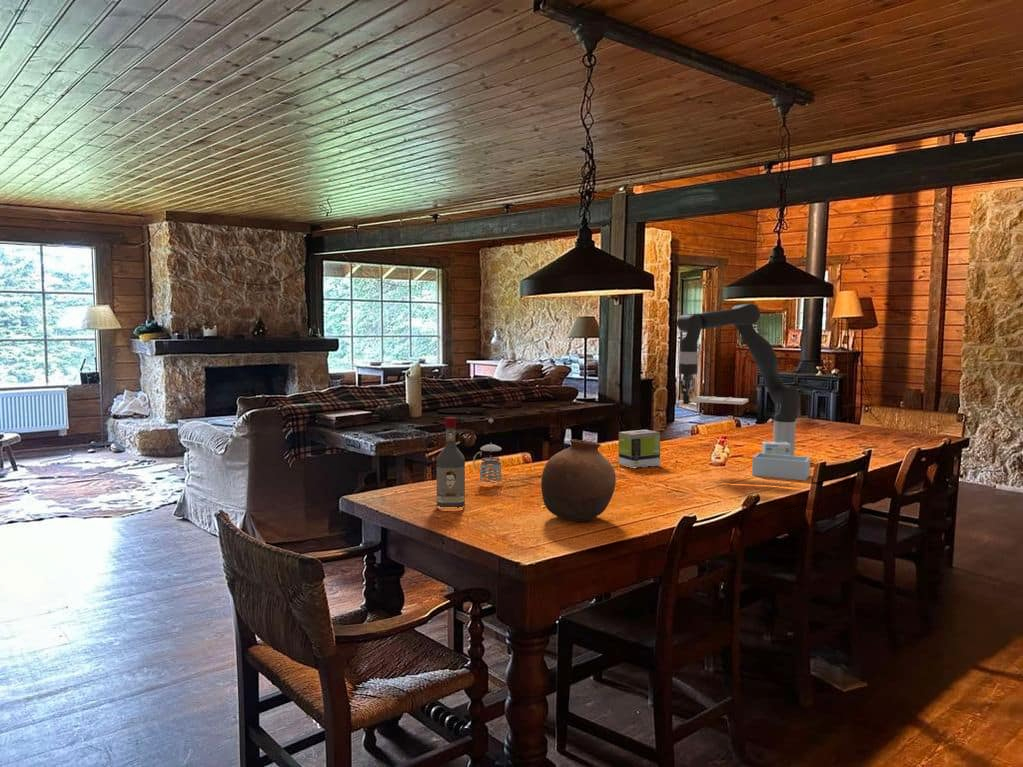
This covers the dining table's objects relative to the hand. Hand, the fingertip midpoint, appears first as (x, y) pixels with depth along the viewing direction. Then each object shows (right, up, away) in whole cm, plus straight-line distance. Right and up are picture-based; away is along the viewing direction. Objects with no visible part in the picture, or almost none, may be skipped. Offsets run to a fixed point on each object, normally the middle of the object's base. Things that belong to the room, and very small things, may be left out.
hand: (687, 403), depth 311 cm
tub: (+33, -29, -16) cm, 47 cm away
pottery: (-53, -34, -79) cm, 101 cm away
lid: (+9, +1, -5) cm, 11 cm away
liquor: (-93, -33, -66) cm, 119 cm away
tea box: (-19, -27, +7) cm, 34 cm away
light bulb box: (+38, -28, +4) cm, 47 cm away
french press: (-82, -30, -30) cm, 93 cm away
